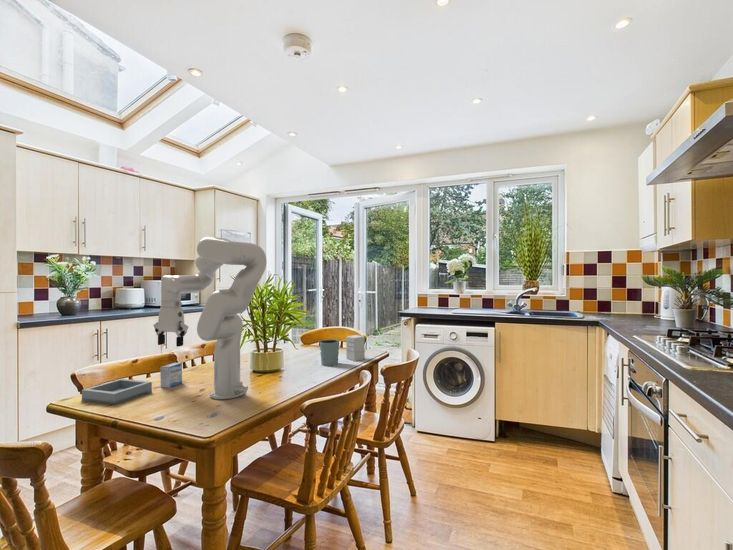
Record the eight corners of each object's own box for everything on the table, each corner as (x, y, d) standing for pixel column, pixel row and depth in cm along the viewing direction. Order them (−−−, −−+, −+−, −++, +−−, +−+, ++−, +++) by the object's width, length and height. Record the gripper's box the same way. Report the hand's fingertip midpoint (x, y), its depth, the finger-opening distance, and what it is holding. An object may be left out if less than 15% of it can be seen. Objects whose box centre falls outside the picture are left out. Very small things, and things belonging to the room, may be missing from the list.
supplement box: (356, 357, 216) (356, 334, 216) (364, 359, 210) (364, 336, 210) (345, 359, 211) (345, 336, 211) (354, 361, 206) (354, 337, 206)
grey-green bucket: (343, 363, 201) (343, 340, 201) (331, 367, 192) (331, 343, 192) (327, 361, 206) (327, 338, 206) (315, 365, 198) (315, 341, 198)
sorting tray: (151, 391, 153) (151, 381, 153) (114, 405, 138) (114, 393, 138) (121, 388, 158) (121, 378, 158) (81, 400, 143) (81, 389, 143)
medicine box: (169, 388, 158) (169, 367, 158) (160, 387, 159) (160, 366, 159) (182, 382, 166) (182, 362, 166) (173, 382, 167) (173, 362, 167)
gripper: (194, 304, 164) (193, 345, 164) (161, 303, 169) (161, 342, 169) (180, 306, 156) (180, 348, 157) (147, 304, 162) (147, 345, 162)
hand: (170, 345), depth 163 cm, fingers open, 9 cm apart
